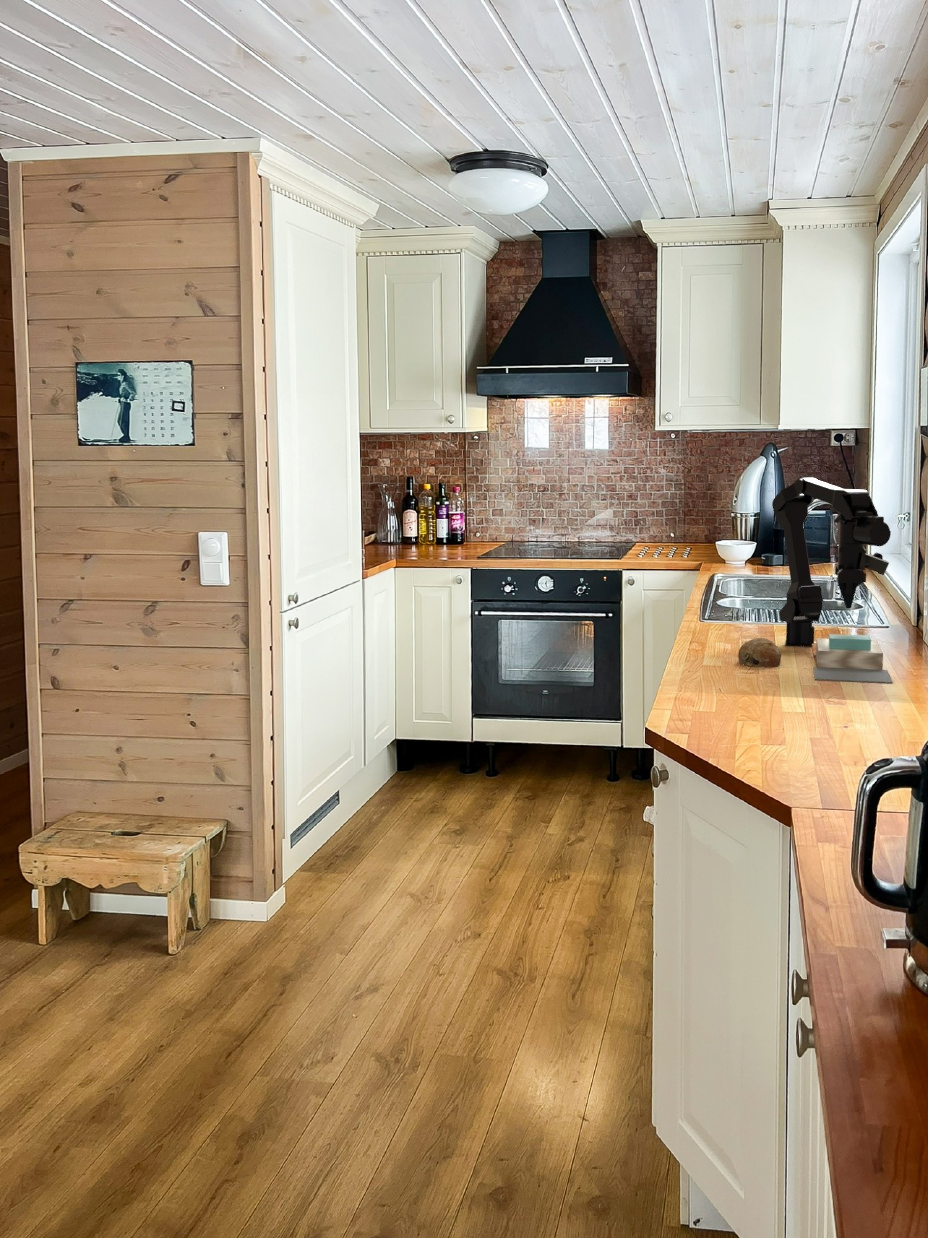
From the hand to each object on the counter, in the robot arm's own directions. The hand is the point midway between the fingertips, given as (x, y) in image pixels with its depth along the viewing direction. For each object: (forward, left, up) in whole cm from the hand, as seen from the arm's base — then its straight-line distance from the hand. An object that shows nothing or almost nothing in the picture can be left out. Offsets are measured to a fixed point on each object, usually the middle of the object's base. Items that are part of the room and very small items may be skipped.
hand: (848, 608), depth 276 cm
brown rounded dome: (-20, -12, -12) cm, 26 cm away
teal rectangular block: (0, -9, -8) cm, 12 cm away
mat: (0, -23, -12) cm, 26 cm away
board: (0, -6, -12) cm, 13 cm away
